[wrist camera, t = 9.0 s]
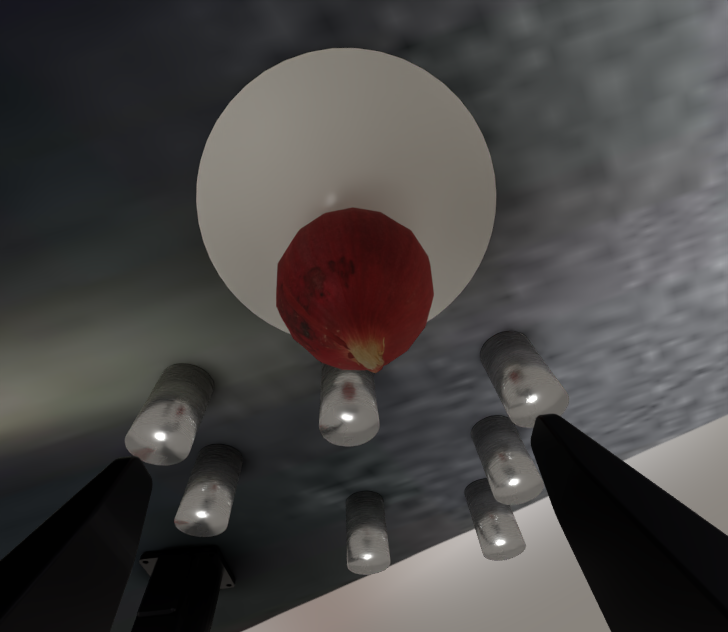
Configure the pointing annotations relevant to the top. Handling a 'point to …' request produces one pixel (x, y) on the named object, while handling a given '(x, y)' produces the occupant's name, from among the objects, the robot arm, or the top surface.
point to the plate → (343, 168)
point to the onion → (354, 289)
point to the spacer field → (354, 427)
